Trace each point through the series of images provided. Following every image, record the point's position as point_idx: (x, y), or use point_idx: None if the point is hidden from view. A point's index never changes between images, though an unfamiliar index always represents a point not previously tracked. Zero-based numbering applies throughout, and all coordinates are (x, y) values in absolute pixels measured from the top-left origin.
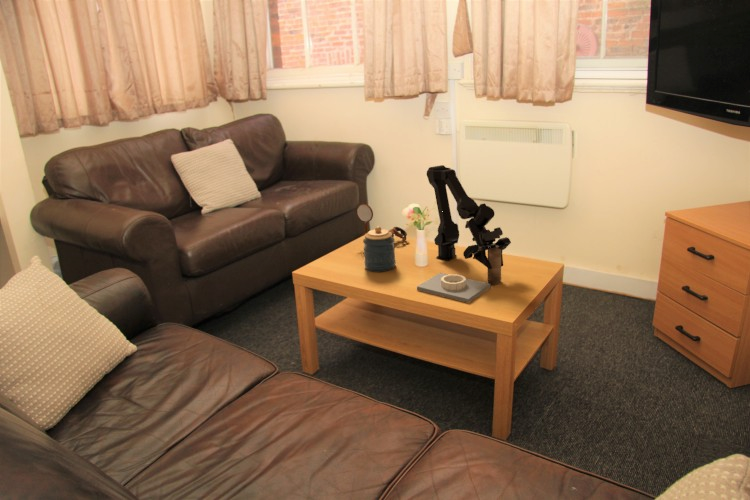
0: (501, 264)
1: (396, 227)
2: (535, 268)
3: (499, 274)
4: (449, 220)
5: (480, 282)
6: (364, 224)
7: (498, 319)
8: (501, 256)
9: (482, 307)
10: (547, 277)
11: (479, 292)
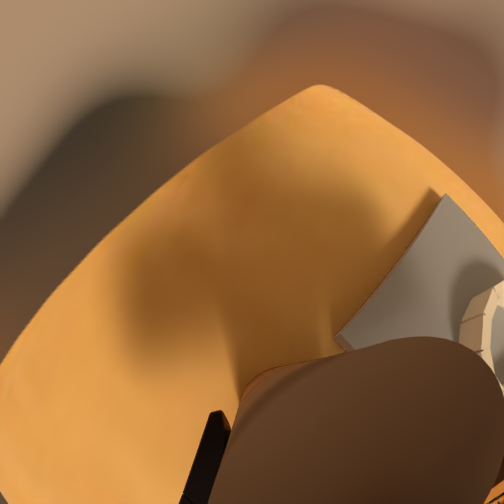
0: (227, 426)
1: None
2: (21, 459)
3: (266, 372)
4: None
5: None
6: None
7: (349, 97)
8: (198, 493)
9: (392, 158)
10: (14, 348)
11: (407, 250)
